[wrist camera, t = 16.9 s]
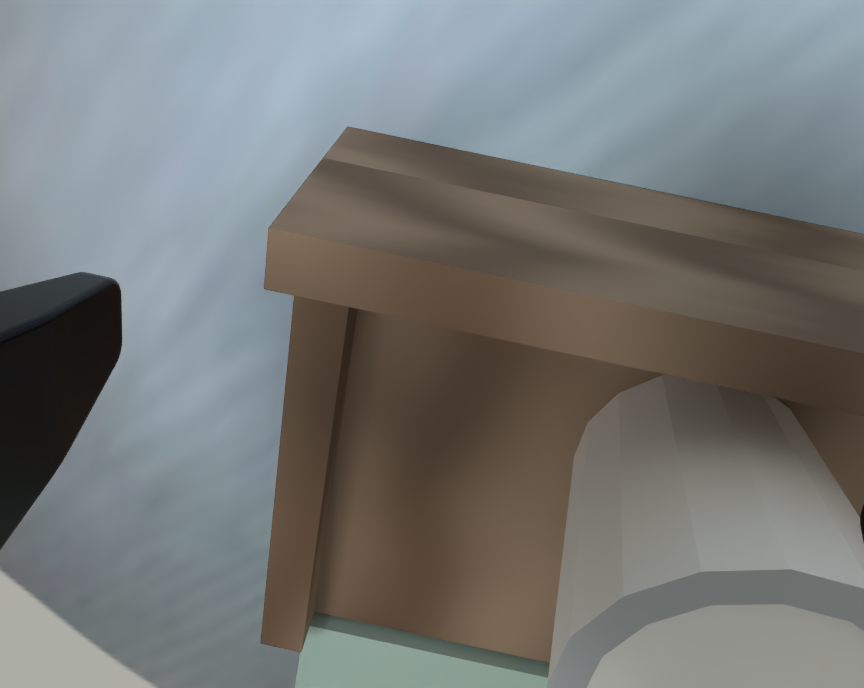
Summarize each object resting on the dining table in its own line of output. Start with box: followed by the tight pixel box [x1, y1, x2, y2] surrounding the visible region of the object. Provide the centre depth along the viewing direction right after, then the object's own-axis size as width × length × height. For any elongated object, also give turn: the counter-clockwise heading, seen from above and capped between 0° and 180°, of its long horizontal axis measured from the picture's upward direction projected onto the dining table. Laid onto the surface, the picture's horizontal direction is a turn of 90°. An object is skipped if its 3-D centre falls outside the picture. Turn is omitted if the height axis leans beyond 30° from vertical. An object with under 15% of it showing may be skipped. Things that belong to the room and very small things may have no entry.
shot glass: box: [547, 375, 864, 688], centre depth 17 cm, size 7×7×7 cm
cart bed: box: [261, 127, 864, 663], centre depth 20 cm, size 20×14×6 cm
